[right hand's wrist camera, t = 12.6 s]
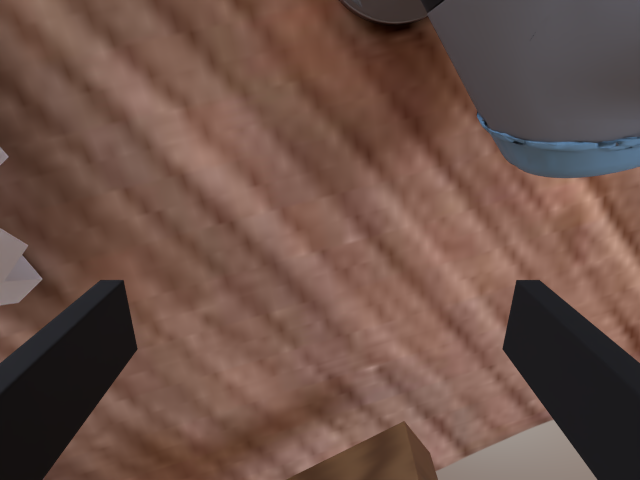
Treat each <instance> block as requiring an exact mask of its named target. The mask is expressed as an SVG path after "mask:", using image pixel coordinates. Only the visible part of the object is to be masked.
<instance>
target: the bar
mask: <svg viewBox="0 0 640 480" xmlns="http://www.w3.org/2000/svg"><path fill="white" fill-rule="evenodd" d="M287 480H438V479H437V475H436V472H435V468H434V465H433V462H432V458H431V455H430V452H429V451H428V450H427V449H426V448H425V446H424V445H423V444H422V443H421V441H420V440H419V439H418V438H417V436H416V435H415V434H414V433H413V431H412V430H411V429H410V428H409V426H408V425H407V424H406V423H405V421H404V422H402V423H400V424H398V425H396V426H394V427H392V428H390V429H387V430H385V431H383V432H381V433H379V434H377V435H375V436H373V437H371V438H369V439H367V440H365V441H363V442H361V443H359V444H357V445H355V446H353V447H351V448H349V449H347V450H345V451H343V452H341V453H339V454H337V455H335V456H333V457H331V458H329V459H327V460H325V461H323V462H321V463H319V464H317V465H315V466H313V467H311V468H309V469H307V470H305V471H303V472H301V473H299V474H297V475H295V476H293V477H291V478H289V479H287Z"/></svg>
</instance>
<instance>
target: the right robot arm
mask: <svg viewBox="0 0 640 480" xmlns="http://www.w3.org/2000/svg"><path fill="white" fill-rule="evenodd" d="M339 1H340V2H341V3H342V4H343V5H344V6H345V7H347V8H348V9H349V10H350V11H351V12H353V13H354V14H356V15H357V16H359V17H361V18H363V19H365V20H368V21H370V22H373V23H377V24H382V25H403V24H409V23H413V22H416V21H419V20H421V19H423V18H425V17H427V16H428V17H429V19H430V21H431V23H432V25H433V27H434V29H435V31H436V32H437V34H438V36H439V38H440V40H441V42H442V44H443V46H444V48H445V50H446V52H447V54H448V55H449V57H450V59H451V61H452V63H453V65H454V67H455V69H456V71H457V73H458V75H459V77H460V78H461V80H462V82H463V84H464V86H465V88H466V90H467V92H468V94H469V96H470V98H471V100H472V101H473V103H474V105H475V107H476V109H477V111H478V112H477V117H478V120H479V122H480V123H481V125H482V127H483V128H484V129H485V130H487V131H488V132H489V133H490V134H491V136H492V138H493V139H494V141H495V143H496V144H497V146H498V148H499V150H500V151H501V153H502V154H503V156H504V157H505V159H506V160H507V161H508V162H509V163H511V164H513V165H515V166H517V167H518V168H519V169H521V170H523V171H525V172H527V173H530V174H534V175H538V176H544V177H552V178H580V177H591V176H599V175H605V174H610V173H616V172H620V171H625V170H629V169H633V168H636V167H640V0H339ZM136 350H137V344H136V340H135V335H134V330H133V325H132V320H131V315H130V310H129V305H128V300H127V295H126V290H125V285H124V280H100V281H99V282H98V283H97V284H95V285H94V286H93V287H92V288H90V289H89V290H88V291H87V292H86V293H84V294H83V295H82V296H81V297H80V298H78V299H77V300H76V301H75V302H74V303H72V304H71V305H70V306H69V307H68V308H66V309H65V310H64V311H63V312H62V313H60V314H59V315H58V316H57V317H55V318H54V319H53V320H52V321H51V322H49V323H48V324H47V325H46V326H45V327H43V328H42V329H41V330H40V331H39V332H37V333H36V334H35V335H34V336H33V337H31V338H30V339H29V340H28V341H27V342H25V343H24V344H23V345H22V346H20V347H19V348H18V349H17V350H16V351H14V352H13V353H12V354H11V355H10V356H8V357H7V358H6V359H5V360H4V361H2V362H1V363H0V480H43V478H44V477H45V475H46V474H47V473H48V471H49V470H50V469H51V467H52V466H53V464H54V463H55V462H56V460H57V459H58V458H59V456H60V455H61V453H62V452H63V451H64V449H65V448H66V447H67V445H68V444H69V442H70V441H71V440H72V438H73V437H74V436H75V434H76V433H77V431H78V430H79V429H80V427H81V426H82V425H83V423H84V422H85V421H86V419H87V418H88V416H89V415H90V414H91V412H92V411H93V410H94V408H95V407H96V405H97V404H98V403H99V401H100V400H101V399H102V397H103V396H104V394H105V393H106V392H107V390H108V389H109V388H110V386H111V385H112V383H113V382H114V381H115V379H116V378H117V377H118V375H119V374H120V372H121V371H122V370H123V368H124V367H125V366H126V364H127V363H128V361H129V360H130V359H131V357H132V356H133V355H134V353H135V352H136ZM503 350H504V352H505V353H506V355H507V356H508V357H509V359H510V360H511V361H512V363H513V364H514V366H515V367H516V368H517V370H518V371H519V372H520V374H521V375H522V377H523V378H524V379H525V381H526V382H527V383H528V385H529V386H530V388H531V389H532V390H533V392H534V393H535V394H536V396H537V397H538V399H539V400H540V401H541V403H542V404H543V405H544V407H545V408H546V410H547V411H548V412H549V414H550V415H551V416H552V418H553V419H554V421H555V422H556V423H557V425H558V426H559V427H560V429H561V430H562V431H563V433H564V434H565V436H566V437H567V438H568V440H569V441H570V442H571V444H572V445H573V447H574V448H575V449H576V451H577V452H578V453H579V455H580V456H581V458H582V459H583V460H584V462H585V463H586V464H587V466H588V467H589V469H590V470H591V471H592V473H593V474H594V475H595V477H596V478H597V480H640V363H639V362H638V361H636V360H635V359H634V358H633V357H632V356H630V355H629V354H628V353H627V352H626V351H624V350H623V349H622V348H621V347H619V346H618V345H617V344H616V343H615V342H613V341H612V340H611V339H610V338H609V337H607V336H606V335H605V334H604V333H603V332H601V331H600V330H599V329H598V328H597V327H595V326H594V325H593V324H592V323H591V322H589V321H588V320H587V319H586V318H585V317H583V316H582V315H581V314H580V313H578V312H577V311H576V310H575V309H574V308H572V307H571V306H570V305H569V304H568V303H566V302H565V301H564V300H563V299H562V298H560V297H559V296H558V295H557V294H556V293H554V292H553V291H552V290H551V289H550V288H548V287H547V286H546V285H545V284H543V283H542V282H541V281H540V280H516V285H515V290H514V295H513V300H512V305H511V310H510V315H509V320H508V325H507V330H506V335H505V340H504V344H503Z"/></svg>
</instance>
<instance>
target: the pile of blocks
mask: <svg viewBox="0 0 640 480" xmlns="http://www.w3.org/2000/svg"><path fill="white" fill-rule="evenodd" d="M8 157H9V156H8V155H7V154H6V153H5V152H4V151H3V150H2V148H1V147H0V165H1V164H2V163H3V162H4V161H5V160H6V159H7V158H8ZM28 246H29V245H27V244H26V243H24V242H22V241H21V240H19V239H17V238H16V237H14V236H12V235H11V234H9V233H7V232H6V231H4V230H3V229H1V228H0V305H6V304H14V303H19V302H20V301H21V300H22V299H23V298H24V297H25V296H26V295H27V294H28V293H29V292H30V291H31V290H32V289H33V288H34V287H35V286H36V285H37V284H38V283H39V282H40V281H42V280H43V279H42V278H41V276H40V275H39V274H38V273H37V272H36V270H35V269H34V268H33V267H32V266H31V265H30V263H29V262H28V261H27V260H26V259H25V258H24V256H23V255H22V254H23V253H24V251H25V250H26V248H27V247H28Z"/></svg>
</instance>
